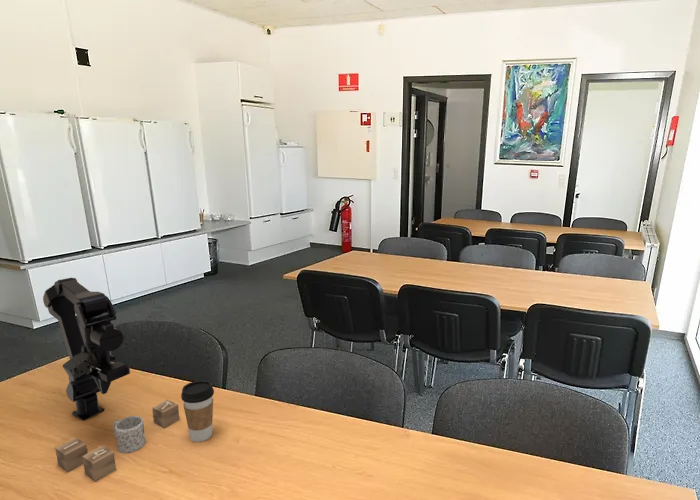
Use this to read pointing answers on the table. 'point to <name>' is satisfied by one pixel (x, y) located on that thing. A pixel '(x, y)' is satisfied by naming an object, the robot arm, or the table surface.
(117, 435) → the mug
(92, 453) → the walnut block four
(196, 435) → the coffee cup
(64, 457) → the walnut block one
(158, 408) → the brown and beige block
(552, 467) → the table surface
